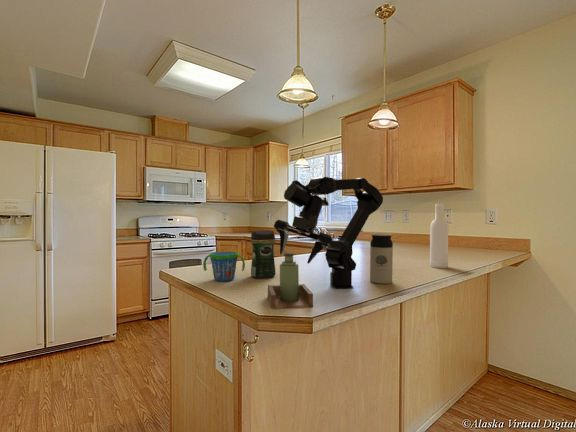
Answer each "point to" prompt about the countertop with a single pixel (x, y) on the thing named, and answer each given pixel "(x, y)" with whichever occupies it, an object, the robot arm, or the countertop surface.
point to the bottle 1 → (289, 279)
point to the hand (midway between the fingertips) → (294, 258)
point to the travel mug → (381, 258)
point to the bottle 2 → (439, 239)
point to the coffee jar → (263, 254)
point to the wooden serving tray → (303, 301)
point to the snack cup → (224, 265)
